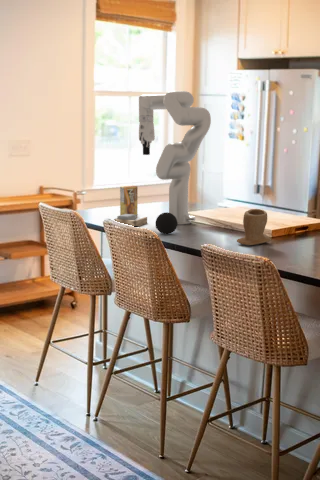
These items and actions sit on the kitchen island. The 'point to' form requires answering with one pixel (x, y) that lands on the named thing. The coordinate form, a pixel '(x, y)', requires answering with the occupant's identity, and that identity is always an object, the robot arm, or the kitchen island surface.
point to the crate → (127, 217)
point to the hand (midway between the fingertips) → (146, 154)
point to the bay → (133, 221)
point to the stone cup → (254, 227)
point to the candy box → (128, 200)
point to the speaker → (166, 223)
